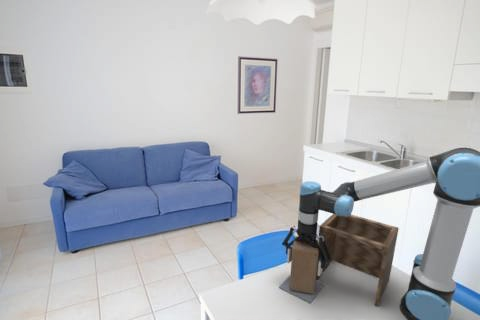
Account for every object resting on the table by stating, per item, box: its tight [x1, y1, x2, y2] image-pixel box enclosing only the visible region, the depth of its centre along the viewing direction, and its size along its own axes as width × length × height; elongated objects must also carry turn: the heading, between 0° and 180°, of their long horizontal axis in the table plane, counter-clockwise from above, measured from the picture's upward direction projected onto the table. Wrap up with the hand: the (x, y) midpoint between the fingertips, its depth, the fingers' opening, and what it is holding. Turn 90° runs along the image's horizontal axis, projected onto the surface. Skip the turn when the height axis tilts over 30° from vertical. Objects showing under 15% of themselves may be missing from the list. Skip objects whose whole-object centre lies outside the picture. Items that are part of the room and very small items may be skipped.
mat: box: [278, 275, 325, 304], centre depth 122 cm, size 14×14×1 cm
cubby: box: [316, 213, 400, 308], centre depth 123 cm, size 26×20×26 cm
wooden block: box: [289, 235, 319, 294], centre depth 119 cm, size 10×10×20 cm
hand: (304, 267), depth 119 cm, fingers open, 13 cm apart
